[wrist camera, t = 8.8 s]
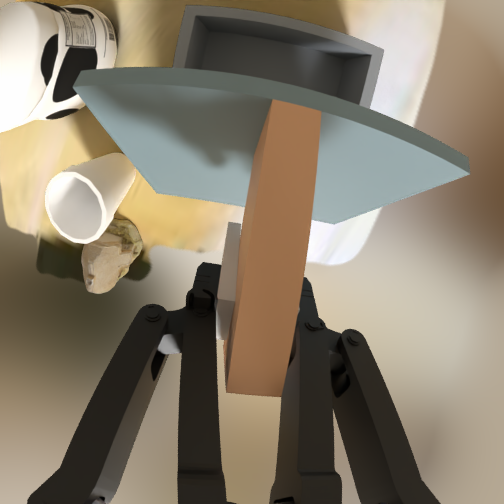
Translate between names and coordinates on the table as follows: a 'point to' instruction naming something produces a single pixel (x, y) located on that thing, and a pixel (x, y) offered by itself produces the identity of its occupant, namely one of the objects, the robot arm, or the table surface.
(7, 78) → the milk container
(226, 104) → the lid flap
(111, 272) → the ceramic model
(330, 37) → the carton
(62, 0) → the table surface
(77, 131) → the table surface
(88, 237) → the foam cup
